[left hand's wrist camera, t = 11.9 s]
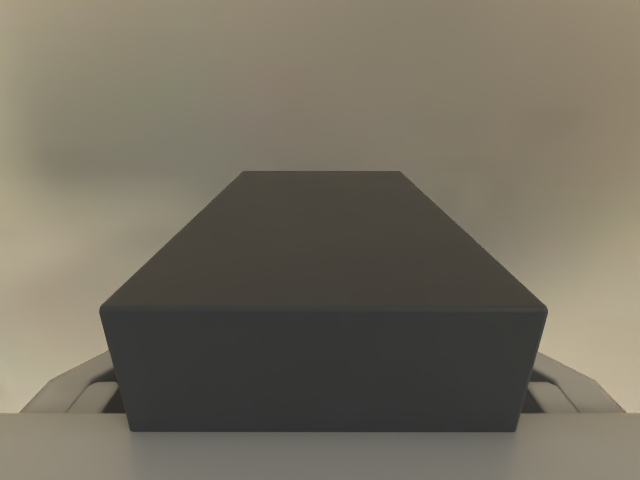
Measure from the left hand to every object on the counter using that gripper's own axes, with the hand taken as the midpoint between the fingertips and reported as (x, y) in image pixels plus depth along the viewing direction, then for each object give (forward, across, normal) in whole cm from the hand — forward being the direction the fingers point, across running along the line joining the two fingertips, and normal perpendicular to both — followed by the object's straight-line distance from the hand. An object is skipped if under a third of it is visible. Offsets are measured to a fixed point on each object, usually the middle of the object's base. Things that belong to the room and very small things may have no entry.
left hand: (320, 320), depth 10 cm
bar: (+3, 0, +9) cm, 10 cm away
